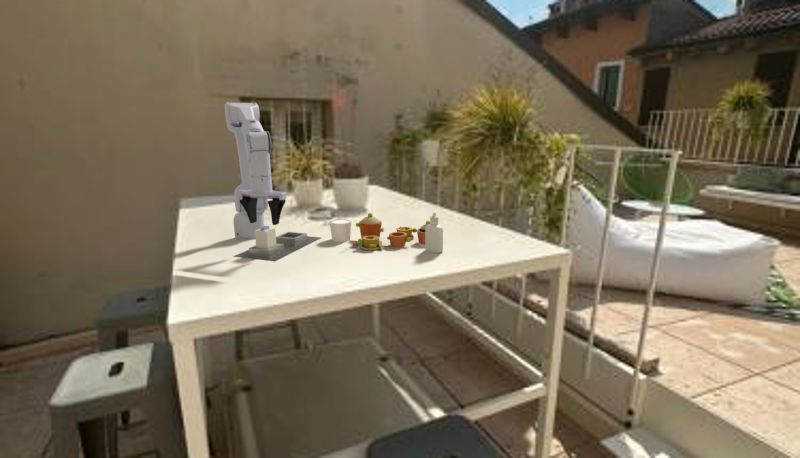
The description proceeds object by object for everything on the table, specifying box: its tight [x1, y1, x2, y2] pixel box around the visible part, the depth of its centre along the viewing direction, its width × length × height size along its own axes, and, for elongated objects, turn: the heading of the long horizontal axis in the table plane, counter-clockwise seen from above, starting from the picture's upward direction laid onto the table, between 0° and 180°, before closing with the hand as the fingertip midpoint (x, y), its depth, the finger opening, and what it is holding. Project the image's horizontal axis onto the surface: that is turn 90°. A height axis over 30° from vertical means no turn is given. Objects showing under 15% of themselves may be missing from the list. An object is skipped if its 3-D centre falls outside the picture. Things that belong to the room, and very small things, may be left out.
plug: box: [254, 225, 277, 250], centre depth 123 cm, size 4×4×8 cm
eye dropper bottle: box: [424, 211, 444, 254], centre depth 127 cm, size 4×6×12 cm
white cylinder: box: [329, 219, 352, 243], centre depth 137 cm, size 7×7×7 cm
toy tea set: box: [355, 212, 430, 251], centre depth 137 cm, size 26×16×10 cm, turn 106°
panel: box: [232, 231, 322, 262], centre depth 130 cm, size 14×26×3 cm, turn 161°
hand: (264, 223), depth 122 cm, fingers open, 7 cm apart
